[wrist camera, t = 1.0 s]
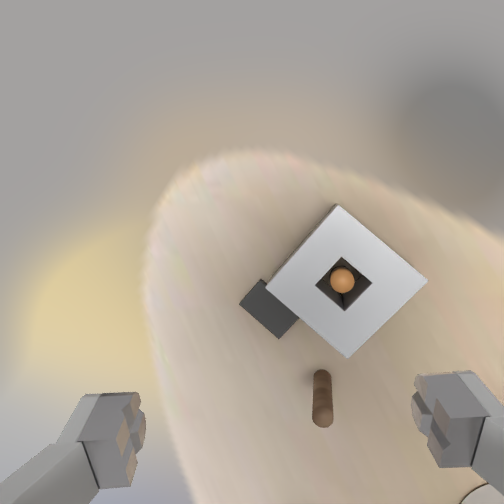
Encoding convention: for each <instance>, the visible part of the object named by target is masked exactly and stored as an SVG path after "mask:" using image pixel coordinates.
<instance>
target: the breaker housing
mask: <svg viewBox="0 0 504 504" xmlns="http://www.w3.org/2000/svg"><path fill="white" fill-rule="evenodd" d="M341 257H343V258H344V259H345V260H346V261H347V262H349V263H350V264H351V265H352V266H353V267H354V268H356V269H357V270H358V271H359V272H360V273H361V274H363V275H362V276H361V277H360V278H359V279H358V280H357V281H356V282H355V283H354V286H353V288H352V289H351V290H350V291H348V292H345V293H344V294H343V295H342V296H340V295H339V294H338V293H337V292H336V291H335V290H333V289H332V288H331V287H330V286H329V285H328V284H326V283H325V282H324V281H323V280H322V279H321V278H322V277H323V276H324V275H325V274H326V273H327V272H328V270H329V269H330V268H331V267H332V266H333V265H334V264H335V263H336V262H337V261H338V260H339V259H340V258H341ZM427 282H428V280H427V279H426V278H425V277H424V276H423V275H421V274H420V273H419V272H418V271H417V270H415V269H414V268H413V267H412V266H411V265H409V264H408V263H407V262H406V261H405V260H404V259H402V258H401V257H400V256H399V255H398V254H396V253H395V252H394V251H393V250H392V249H390V248H389V247H388V246H387V245H386V244H385V243H383V242H382V241H381V240H380V239H379V238H377V237H376V236H375V235H374V234H373V233H371V232H370V231H369V230H368V229H367V228H365V227H364V226H363V225H362V224H361V223H360V222H358V221H357V220H356V219H355V218H354V217H352V216H351V215H350V214H349V213H348V212H346V211H345V210H344V209H343V208H342V207H341V206H339V205H338V204H335V205H334V207H333V208H332V209H331V210H330V211H329V212H328V213H327V215H326V216H325V217H324V218H323V219H322V220H321V221H320V222H319V224H318V225H317V226H316V227H315V228H314V229H313V230H312V232H311V233H310V234H309V235H308V236H307V237H306V238H305V240H304V241H303V242H302V243H301V244H300V245H299V246H298V247H297V249H296V250H295V251H294V252H293V253H292V254H291V255H290V257H289V258H288V259H287V260H286V261H285V262H284V263H283V264H282V266H281V267H280V268H279V269H278V270H277V271H276V272H275V274H274V275H273V276H272V277H271V279H270V281H269V282H268V284H267V285H266V287H265V288H266V289H267V290H268V291H269V292H271V293H272V294H273V295H274V296H275V297H276V298H277V299H279V300H280V301H281V302H282V303H283V304H284V305H286V306H287V307H288V308H289V309H290V310H291V311H292V312H294V313H295V314H296V315H297V316H298V317H299V318H301V319H302V320H303V321H304V322H305V323H306V324H307V325H309V326H310V327H311V328H312V329H313V330H314V331H315V332H317V333H318V334H319V335H320V336H321V337H322V338H324V339H325V340H326V341H327V342H328V343H329V344H330V345H332V346H333V347H334V348H335V349H336V350H337V351H339V352H340V353H341V354H342V355H343V356H344V357H345V358H347V359H348V358H349V357H350V356H351V355H352V354H353V353H354V352H355V351H356V350H358V349H359V348H360V347H361V346H362V345H363V344H364V343H365V342H366V341H367V340H368V339H369V338H370V337H371V336H372V335H373V334H374V333H375V332H376V331H377V330H378V329H379V328H380V327H381V326H382V325H383V324H384V323H385V322H386V321H388V320H389V319H390V318H391V317H392V316H393V315H394V314H395V313H396V312H397V311H398V310H399V309H400V308H401V307H402V306H403V305H404V304H405V303H406V302H407V301H408V300H409V299H410V298H411V297H412V296H413V295H414V294H415V293H416V292H417V291H419V290H420V289H421V288H422V287H423V286H424V285H425V284H426V283H427Z"/></svg>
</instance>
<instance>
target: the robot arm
mask: <svg viewBox="0 0 504 504" xmlns="http://www.w3.org/2000/svg"><path fill="white" fill-rule="evenodd" d="M414 386H415V387H416V389H417V392H416V393H415V394H414V395H413V396H412V402H411V408H412V415H413V418H414V421H415V423H416V425H417V427H418V429H419V431H420V432H422V433H423V434H424V435H426V436H427V437H428V443H427V446H428V448H429V450H430V452H431V453H432V455H433V457H434V459H435V461H436V463H437V465H438V466H439V468H452V467H472V468H471V469H472V470H474V471H475V472H476V473H477V474H478V475H480V476H481V477H482V478H483V479H484V480H485V481H487V482H488V483H489V484H488V485H485V486H482V487H480V488H478V489H476V490H474V491H473V492H472V493H470V494H469V495H468V496H467V497H466V498H465V499H464V500H463V502H462V503H461V504H504V406H503V405H502V404H501V403H500V402H499V400H498V399H497V398H496V397H495V396H494V395H493V393H492V392H491V391H490V390H489V389H488V388H487V387H486V385H485V384H484V383H483V382H482V381H481V380H480V378H479V377H478V376H477V375H476V374H475V373H474V372H472V371H470V370H469V371H456V372H443V373H429V374H418V375H417V376H416V378H415V382H414ZM140 403H141V399H140V396H139V393H137V392H122V393H103V394H86V395H84V396H83V397H82V398H81V399H80V401H79V403H78V405H77V406H76V408H75V410H74V412H73V413H72V415H71V417H70V419H69V421H68V422H67V424H66V426H65V428H64V430H63V431H62V433H61V435H60V437H59V439H58V440H57V442H56V444H50V445H49V446H47V447H46V448H45V449H43V450H42V451H41V452H40V453H38V454H37V455H36V456H34V457H33V458H32V459H31V460H29V461H28V462H27V463H26V464H24V465H23V466H22V467H21V468H19V469H18V470H17V471H15V472H14V473H13V474H12V475H10V476H9V477H8V478H7V479H5V480H4V481H3V482H1V483H0V504H89V503H90V501H91V500H92V499H93V498H94V497H95V496H96V495H97V493H98V492H99V489H108V488H120V487H130V486H131V483H132V480H133V477H134V473H135V470H136V467H137V463H138V462H137V459H136V454H137V453H138V451H139V450H140V449H141V448H142V446H143V443H144V439H145V431H146V420H145V415H144V413H143V412H142V411H141V410H140V409H139V406H140Z"/></svg>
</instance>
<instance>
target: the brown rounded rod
mask: <svg viewBox="0 0 504 504" xmlns="http://www.w3.org/2000/svg"><path fill="white" fill-rule="evenodd" d="M312 419H313V422H314V423H315V424H316V425H317V426H319V427H322V428H326V427H329V426H330V425H331V424H332V423H333V402H332V384H331V375H330V374H329V373H328V372H327V371H325V370H319V371H317V372H316V373H315V374H314V385H313V411H312Z"/></svg>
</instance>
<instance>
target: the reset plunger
mask: <svg viewBox="0 0 504 504" xmlns="http://www.w3.org/2000/svg"><path fill="white" fill-rule="evenodd" d="M330 282H331V286H332V288H333V289H334V290H335V291H337V292H340V293H345V292H348V291H350V290H351V289H352V288H353V286H354V277H353V275H352V272H351V271H350V270H349V269H348V268H346V267H342V266H340V267H336V268H335V269H333V270H332V272H331V274H330Z"/></svg>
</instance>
